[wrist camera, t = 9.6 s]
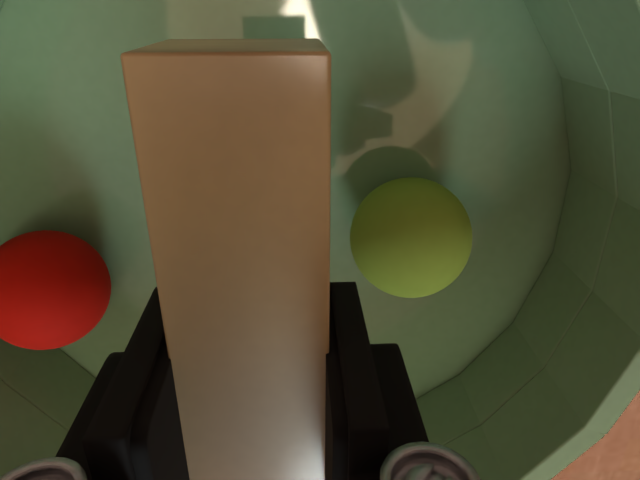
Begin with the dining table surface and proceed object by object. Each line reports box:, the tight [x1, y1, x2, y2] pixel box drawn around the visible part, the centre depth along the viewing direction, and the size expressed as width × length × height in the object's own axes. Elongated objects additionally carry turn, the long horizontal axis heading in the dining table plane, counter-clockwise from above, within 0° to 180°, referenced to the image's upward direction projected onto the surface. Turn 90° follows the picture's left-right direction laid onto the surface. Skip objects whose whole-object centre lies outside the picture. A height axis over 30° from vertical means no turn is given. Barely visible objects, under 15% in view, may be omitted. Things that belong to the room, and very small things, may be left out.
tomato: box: [0, 230, 111, 350], centre depth 15 cm, size 4×4×4 cm
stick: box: [120, 38, 331, 480], centre depth 10 cm, size 2×12×2 cm, turn 0°
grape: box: [350, 177, 472, 298], centre depth 15 cm, size 4×4×4 cm
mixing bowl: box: [0, 0, 640, 480], centre depth 15 cm, size 21×21×6 cm
